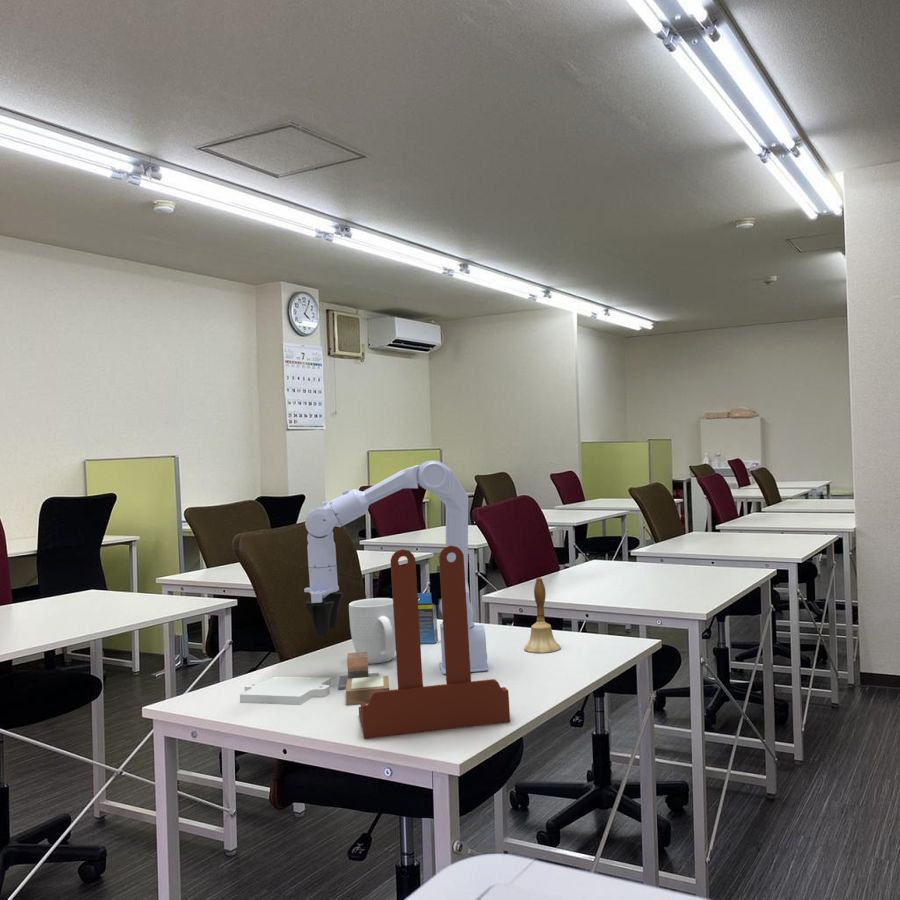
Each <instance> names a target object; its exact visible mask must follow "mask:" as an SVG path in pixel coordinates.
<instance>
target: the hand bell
mask: <svg viewBox="0 0 900 900" xmlns="http://www.w3.org/2000/svg"><path fill="white" fill-rule="evenodd" d="M546 594H547V593H546V586H545V584H544V580H543V578H541V577H537V578H536V579H535V584H534V588H533V596H534V601H535V603H536V621H535V623H533V624H532V625H531V627H530V628H531V630H530V636H529V641H528V642H527V644H526V645H525V646H524V649H523V650H524V651H525V652H527V653H532V654H536V653H537V654H545V653H554V652H558V651H560V650H561V648H562V646H561V645H560V644H559V643H558V642H557V641H556V639H555V637H554V635H553V634H554V633H553V631H552V626H551V624H550V623H548V622H546V621H545V609H544V607H545V601H546Z"/></svg>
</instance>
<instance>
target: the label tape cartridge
mask: <svg viewBox="0 0 900 900" xmlns="http://www.w3.org/2000/svg"><path fill="white" fill-rule="evenodd" d="M417 594H418V611H419V628H420V645H422V644H423V645H424V644H425V645H427V644H428V645H429V644H431V645H432V644H433V645H434V644H436V643H437V642H438V641H439V635H438V618H437V607H436V606H435V605H434V603H433V601H432V592H417Z"/></svg>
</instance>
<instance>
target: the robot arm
mask: <svg viewBox="0 0 900 900" xmlns="http://www.w3.org/2000/svg"><path fill="white" fill-rule="evenodd" d="M419 486H420V488H422V489H424V490H426V491H427V492H430V493H431V494H434V495H435V496H436V497H437V498H438V499H439V500H440V501H441V502H442V503H443V504H444V505H445V547H447V546H450V545H451V546H456V547H458V548H459V549H460V550H461V551H462V553H463V555H464V570H465V587H466V603H467V620H468V637H469V654H470V670H471V673H473V672H474V673H475V672H485V671H489V668H488V652H487V639H486V631H485V627H484V625H483V624H475V622H474V621H473V619H474V614H475V613H474V612H475V611H474V606H473V605H472V603H471V600H470V588H469V582H468V581H469V579H468V578H469V576H468V571H469V570H468V569H469V567H468V565H469V562H468V561H469V559H468V558H469V557H468V556H469V554H468V553H469V552H468V551H469V494H468V493H467V491H466V490H465V489H464V487H463V485H462V484H461V483H460V481H459V479H458V478H457V476H456V475H455V473H454V471H453V470H452V469H451V468H450V467H448V466H447V465H445V464H444V463H443V462H441V461H439V460H426V461H424V462H422V463H421V464H417V465H413V466H410V467H407V468H404V469H402V470H399V471H398V472H395V473H394V474H392V475H390V476H389V477H387V478H385V479H383V480H382V481H379V482H378V483H376V484H374V485H372V486H370V487H369V488H366V489H364V490H363V491H361V490H358V489H355V488H354V489H351V490H349V489H347V488H346V489H345V490H342V495H340V496H337V497H336V498H334V499H332V500H330V501H328V502H327V500H325V501H322V503H321V505H322V507H316V508H313V509H312V510H311V511H310V512H308V514H307V515H306V517H305V521H304V522H305V523H304V525H305V529H306V531H307V532H308V533H307V536H306V537H307V538H306V539H307V547H306V548H307V565H308V575H309V577H308V578H309V587H305V588H304V589H303V591H304V593H309V595H310V601H309V600H307V601H305V603H304V607H305V609H306V610H307V612H308V613H309V615H310V618H311V620H312V623H313V627H314V630H315V634H316V636H317V637H327V636H328V635H329V632H330V629H336V627H337V622H338V616H339V615H338V614H339V610H340V604H341V601H342V599H343V596H344V592H341V591H339V590H340V586H339V584H338V583H339V582H338V569H337V567H338V566H337V551H336V543H335V541H334V531H333V530H334V527H335V528H336V527H338V528H341V527H343V526H345V525H347V524H349V523H351V522H353V521H355V520H356V519H358V518H360V517H363V516H364V515H366V514H367V513H368V510H369V506H370V505H372V504H374V503H375V502H378V501H379V500H382V499H384V498H386V497H388V496H390V495H392V494H394V493H396V492H398V491H401V490H402V489H419ZM455 559H456V555H455V554H454V553H449V554H448V555H447V560H448V561H449V562H453V561H455ZM438 605H439V608H438V609H439V611H440V613H441V615H442V599H441V598H440V601H439V604H438ZM439 628H440V629H439V630H440V644H441V645H440V646H441V662H440V663H439V665H438V666H439V668H440V671H441V674H442V675H446V666H445V649H444V632H443V621H442V622H441V623H440V624H439Z"/></svg>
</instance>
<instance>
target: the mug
mask: <svg viewBox="0 0 900 900" xmlns="http://www.w3.org/2000/svg"><path fill="white" fill-rule="evenodd" d="M348 613H349V614H348V616H349V617H348V618H349V628H350V636H351V640H352V644H353V648H354V651H355V653H356V652H367V655H368V664H373V665H374V664H383V663H387V662H389V661H391V660H392V658H393V657H394V655H395V654H396V645H395V628H394V611H393V598H390V597H375V598H374V597H373V598H364V599H358V600H353V601H351V602H350V603H349V604H348Z"/></svg>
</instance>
